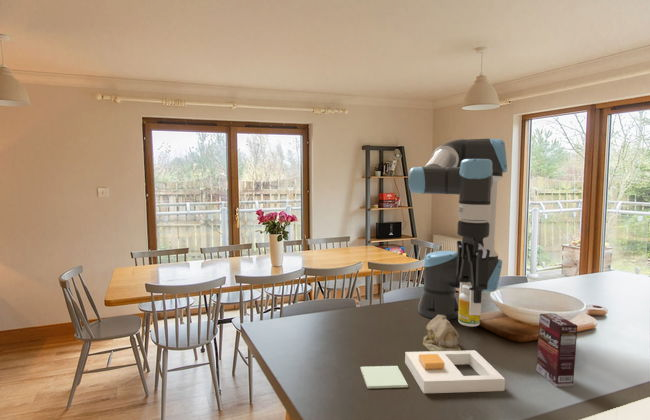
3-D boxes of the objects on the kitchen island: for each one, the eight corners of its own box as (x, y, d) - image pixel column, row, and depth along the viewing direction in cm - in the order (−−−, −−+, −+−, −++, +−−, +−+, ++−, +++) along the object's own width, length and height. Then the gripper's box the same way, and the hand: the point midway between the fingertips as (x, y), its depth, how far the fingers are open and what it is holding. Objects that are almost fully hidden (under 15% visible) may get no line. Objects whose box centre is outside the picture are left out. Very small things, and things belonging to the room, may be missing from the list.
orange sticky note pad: (418, 370, 108) (418, 354, 107) (436, 370, 108) (437, 354, 108) (424, 380, 103) (425, 363, 102) (443, 379, 103) (444, 362, 103)
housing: (405, 362, 113) (405, 352, 113) (474, 360, 115) (475, 350, 114) (423, 393, 97) (424, 381, 97) (504, 390, 99) (505, 378, 99)
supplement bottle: (466, 317, 109) (468, 282, 108) (484, 324, 104) (486, 287, 103) (453, 321, 106) (455, 285, 105) (471, 328, 101) (472, 290, 101)
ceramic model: (417, 338, 130) (418, 308, 129) (450, 337, 131) (452, 307, 130) (434, 358, 116) (435, 324, 115) (471, 357, 117) (473, 323, 116)
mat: (360, 368, 109) (360, 366, 109) (397, 367, 110) (397, 365, 110) (367, 388, 99) (367, 386, 99) (407, 387, 100) (407, 384, 100)
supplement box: (535, 370, 109) (538, 313, 108) (552, 370, 110) (556, 312, 108) (555, 387, 101) (560, 325, 99) (574, 387, 101) (578, 324, 100)
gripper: (445, 216, 111) (442, 299, 114) (475, 225, 93) (471, 324, 95) (471, 216, 112) (468, 299, 114) (507, 225, 94) (501, 323, 96)
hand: (469, 310), depth 105 cm, fingers closed on supplement bottle, 5 cm apart
